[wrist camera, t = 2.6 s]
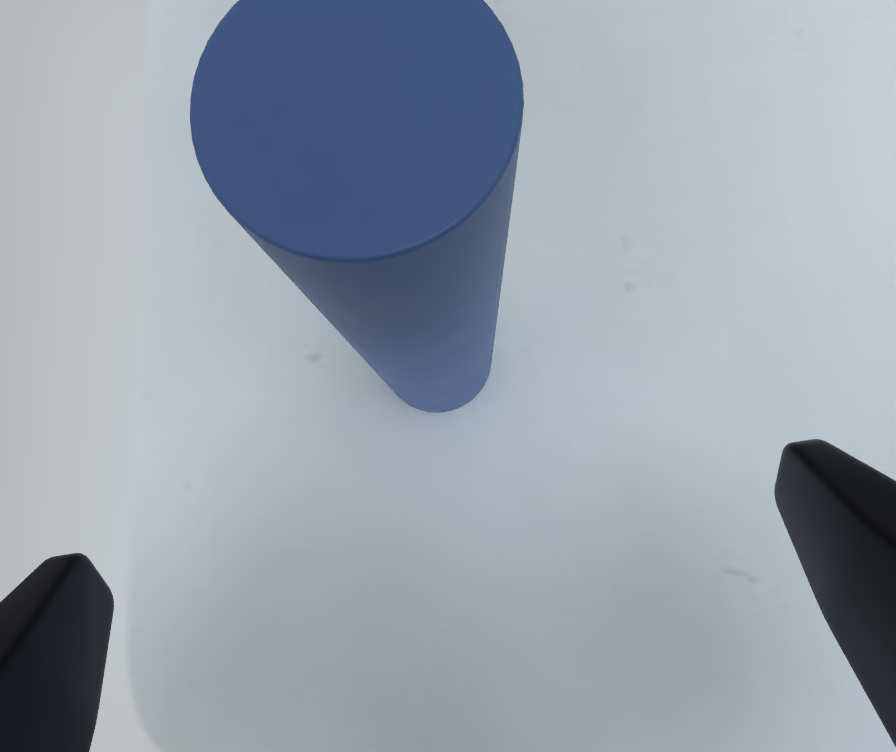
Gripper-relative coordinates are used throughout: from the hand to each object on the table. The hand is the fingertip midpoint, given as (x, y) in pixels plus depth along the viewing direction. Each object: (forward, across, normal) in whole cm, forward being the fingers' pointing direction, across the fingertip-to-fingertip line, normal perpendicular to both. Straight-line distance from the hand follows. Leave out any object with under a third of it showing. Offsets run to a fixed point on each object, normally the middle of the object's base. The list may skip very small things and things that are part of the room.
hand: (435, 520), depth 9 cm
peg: (+11, 0, +5) cm, 12 cm away
